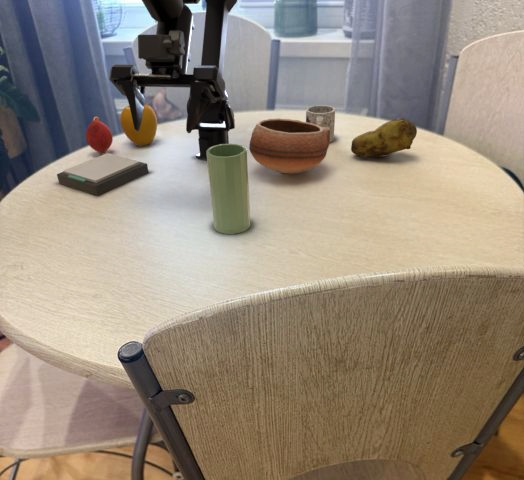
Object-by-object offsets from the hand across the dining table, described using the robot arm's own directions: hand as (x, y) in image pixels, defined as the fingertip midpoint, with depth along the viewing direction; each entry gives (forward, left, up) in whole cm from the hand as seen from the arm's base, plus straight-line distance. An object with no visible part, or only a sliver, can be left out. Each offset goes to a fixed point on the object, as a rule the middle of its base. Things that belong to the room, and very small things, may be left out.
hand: (162, 131), depth 89 cm
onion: (-14, -35, -14) cm, 40 cm away
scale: (-4, -23, -14) cm, 27 cm away
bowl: (-27, +8, -14) cm, 31 cm away
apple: (-24, -32, -14) cm, 42 cm away
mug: (-46, +4, -14) cm, 48 cm away
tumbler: (-1, +13, -14) cm, 19 cm away
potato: (-44, +21, -14) cm, 50 cm away
